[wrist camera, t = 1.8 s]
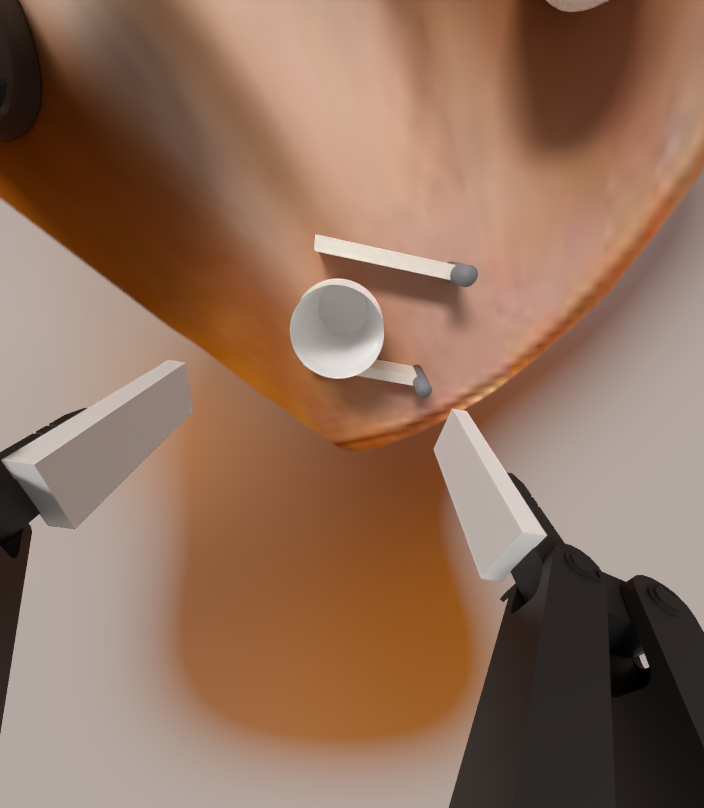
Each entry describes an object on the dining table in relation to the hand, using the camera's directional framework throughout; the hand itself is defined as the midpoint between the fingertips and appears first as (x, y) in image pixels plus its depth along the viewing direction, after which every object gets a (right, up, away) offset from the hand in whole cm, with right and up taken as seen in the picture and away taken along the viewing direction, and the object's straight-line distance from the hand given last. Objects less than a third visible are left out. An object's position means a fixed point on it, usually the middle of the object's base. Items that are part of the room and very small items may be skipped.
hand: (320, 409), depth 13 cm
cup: (0, +13, +21) cm, 25 cm away
